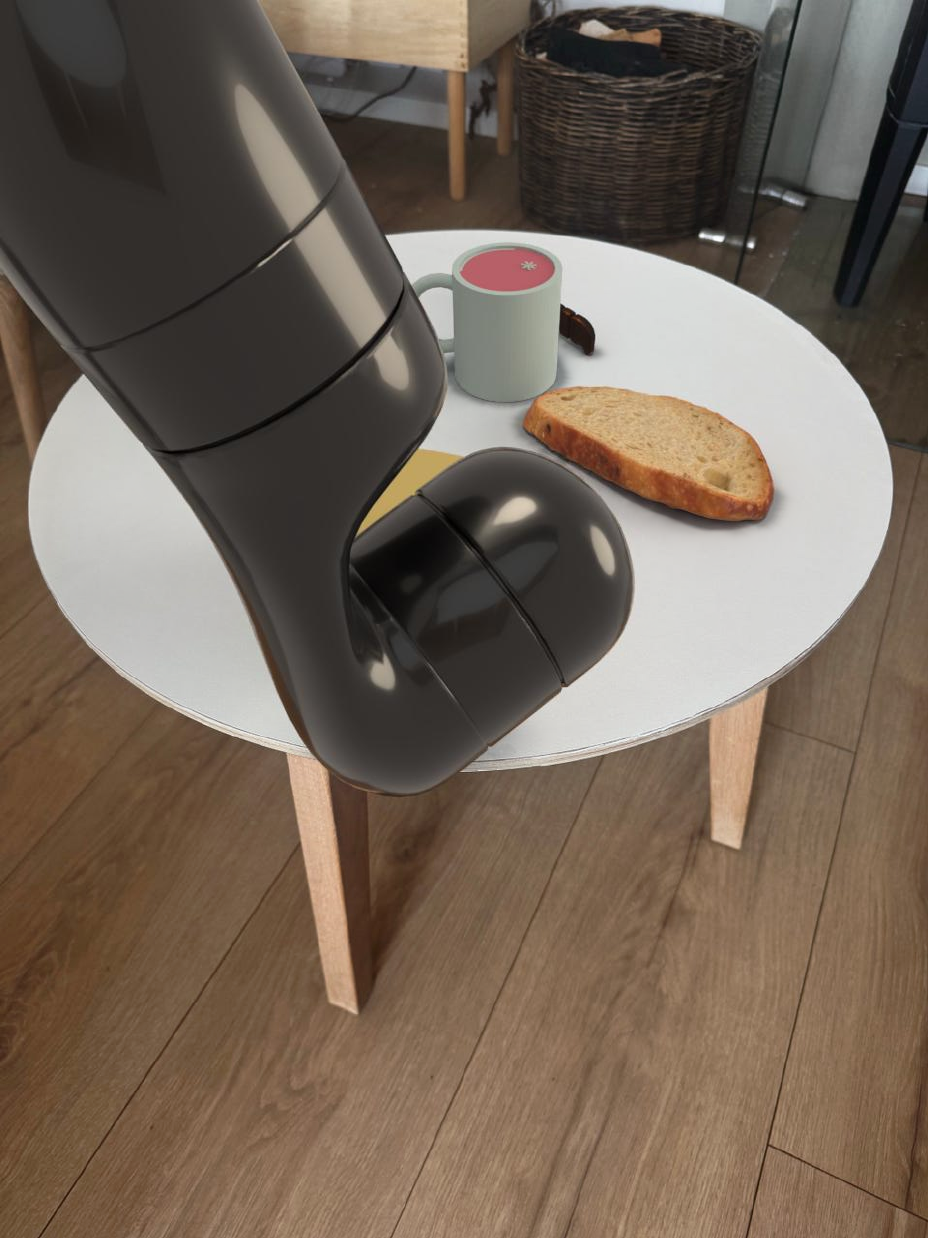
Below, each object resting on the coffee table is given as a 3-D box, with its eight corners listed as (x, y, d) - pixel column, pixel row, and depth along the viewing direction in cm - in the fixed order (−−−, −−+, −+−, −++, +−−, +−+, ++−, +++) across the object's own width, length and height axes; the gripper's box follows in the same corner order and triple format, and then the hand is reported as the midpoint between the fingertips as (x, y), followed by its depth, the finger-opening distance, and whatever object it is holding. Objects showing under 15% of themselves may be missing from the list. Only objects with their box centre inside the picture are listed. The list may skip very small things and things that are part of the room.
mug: (560, 348, 92) (566, 244, 85) (551, 405, 86) (557, 298, 78) (415, 339, 94) (409, 236, 86) (396, 394, 87) (388, 288, 80)
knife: (477, 286, 101) (477, 258, 98) (484, 283, 101) (484, 255, 99) (587, 356, 91) (590, 327, 89) (595, 353, 91) (598, 323, 89)
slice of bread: (517, 406, 86) (518, 368, 83) (721, 391, 87) (729, 353, 84) (550, 543, 73) (553, 504, 71) (788, 525, 74) (799, 485, 72)
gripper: (543, 515, 45) (488, 544, 62) (250, 557, 43) (277, 574, 61) (567, 678, 45) (506, 662, 62) (276, 726, 44) (296, 695, 61)
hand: (393, 619), depth 61 cm, fingers closed
